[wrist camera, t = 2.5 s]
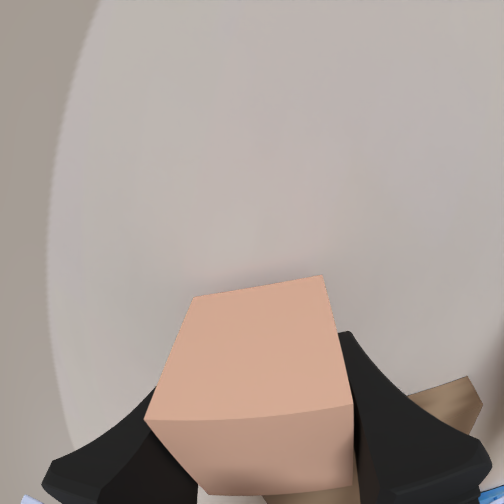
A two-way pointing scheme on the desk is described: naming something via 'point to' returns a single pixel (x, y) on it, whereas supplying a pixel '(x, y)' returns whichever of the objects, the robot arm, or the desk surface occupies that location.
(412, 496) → the robot arm
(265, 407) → the terracotta block
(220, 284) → the desk surface
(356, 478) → the block
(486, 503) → the file sorter
